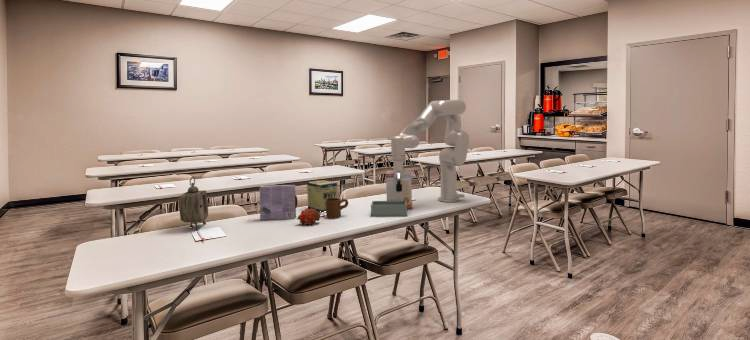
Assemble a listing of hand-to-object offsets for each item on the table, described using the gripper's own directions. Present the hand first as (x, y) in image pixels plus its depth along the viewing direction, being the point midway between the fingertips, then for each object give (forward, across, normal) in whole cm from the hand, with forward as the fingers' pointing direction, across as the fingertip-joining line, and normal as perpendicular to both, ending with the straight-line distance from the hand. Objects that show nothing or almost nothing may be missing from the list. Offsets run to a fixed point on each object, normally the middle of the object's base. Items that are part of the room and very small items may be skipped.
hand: (399, 189), depth 243 cm
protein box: (+10, +1, -44) cm, 45 cm away
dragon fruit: (+10, +33, -44) cm, 56 cm away
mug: (+10, +18, -32) cm, 39 cm away
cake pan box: (+10, +22, -62) cm, 67 cm away
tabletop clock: (+9, +39, -100) cm, 107 cm away
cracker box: (+10, 0, 0) cm, 10 cm away
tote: (+10, +13, -6) cm, 18 cm away
